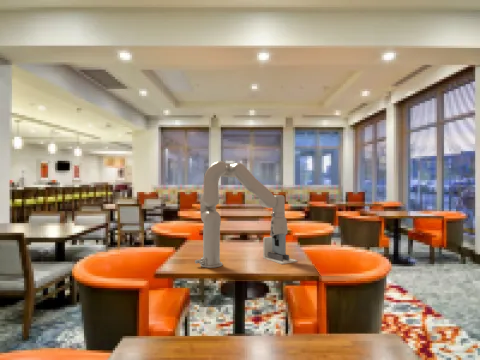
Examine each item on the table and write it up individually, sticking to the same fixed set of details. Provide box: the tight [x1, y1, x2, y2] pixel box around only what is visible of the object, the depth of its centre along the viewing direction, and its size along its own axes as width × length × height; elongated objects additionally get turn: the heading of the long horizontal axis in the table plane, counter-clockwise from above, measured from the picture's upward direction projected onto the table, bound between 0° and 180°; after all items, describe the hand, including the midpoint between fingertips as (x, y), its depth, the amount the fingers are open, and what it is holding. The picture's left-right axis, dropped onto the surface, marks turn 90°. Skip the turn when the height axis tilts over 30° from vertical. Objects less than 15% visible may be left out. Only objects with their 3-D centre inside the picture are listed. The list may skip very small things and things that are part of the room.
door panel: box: [271, 234, 287, 255], centre depth 191 cm, size 4×10×12 cm, turn 32°
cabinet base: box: [262, 236, 298, 265], centre depth 191 cm, size 12×18×13 cm, turn 32°
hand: (278, 245), depth 191 cm, fingers closed on door panel, 2 cm apart
